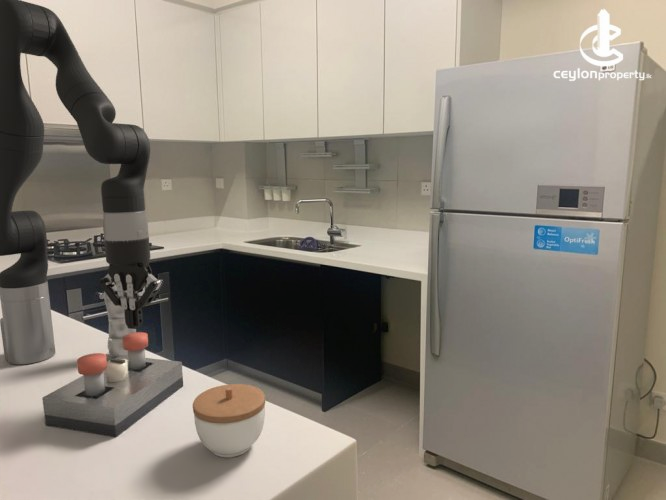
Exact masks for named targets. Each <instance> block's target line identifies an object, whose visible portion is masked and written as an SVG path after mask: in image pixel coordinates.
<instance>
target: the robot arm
mask: <svg viewBox="0 0 666 500" xmlns="http://www.w3.org/2000/svg"><path fill="white" fill-rule="evenodd" d="M22 54H23V55H30V56H35V57H44V58H46V59H48V60H49V61H50V62H51V63H52V64H53V66H55V67H56V70H57V71H56V76H55V89H56V93H57V94H56V95H57V96H58V98H59V100H60V102H61V103H62V105H63V106H64V107H65V109H66V110H67V111H68V113H69V114H70V115H71V116H72V118H73V120H74V121H75V122H76V124H77V127H78V130H79V133H80V135H81V139H82V142H83V145H84V149H85V150H86V152H87V154H88V155H89V156H90V157H91V158H92V159H93V160H95V161H97V162H98V163H101V164H104V165H120V168H119V171H118V174H117V175H116V176H114V177H110V178H107V179H105V180H104V181H103V182H102V183H101V187H100V188H101V189H100V192H101V203H102V205H101V206H102V212H103V213H102V215H103V216H102V217H103V218H102V229H103V230H102V231H103V242H104V252H105V253H104V254H105V262H106V263H107V264H108V265H109V266H108V268H107V274H106V275H105V276H104V277H102V278H99V279H98V281H97V282H98V285H99V286H100V288H101V289H102V290H103V292H104V291H105V293H106V294H107V295H108V297H109V298H110V300H111V301H112V302H113V304H114V305H115V306H118V305H119V306H121V307H122V308H123V309H124V313H125V323H126V325H127V327H128V328H129V329H136V330H137V329H138V328H141V327H142V325H143V324H144V317H143V307H145V306H148V305H150V304H151V303H152V302H153V300H154V299H155V297H156V296H157V295H158V292H160V290H161V288H162V286H163V285H164V280H163V279H162V278H156V277H155V275H153V270H152V268H151V266H150V260H151V248H150V245H151V244H150V237H149V236H150V234H149V223H148V219H147V214H146V203H145V193H144V192H145V191H144V187H145V183H146V178H147V173H148V167H149V162H150V159H151V158H150V157H151V143H150V138H149V137H148V135H147V133H146V132H145V130H144V129H143V128H142V127H140V125H139V126H138V125H135V124H128V123H116V122H114V121H115V119H116V115H117V113H116V112H117V110H116V107H115V106H114V104H113V102H112V101H111V100H110V98H109V97H108V96H107V94H106V93H105V92H104V90H102V88H101V87H100V86H99V84H98V83H97V82H96V81H95V80H94V77H93V76H92V75H91V74H90V72H89V70H88V69H87V68H86V66H85V64H84V61H83V60H82V58H81V56H80V55H79V54H80V53H79V52H78V50H77V48H76V46H75V45H74V42H73V41H72V38H71V37H70V35H69V33H68V31H67V29H66V27H65V26H64V24H63V22H62V21H61V19H60V18H59V16H58V15H57V14H56V13H55V12H54V11H53V10H51V9H50V8H47V7H45V6H42V5H39V4H36V3H31V2H28V1H24V0H0V257H2V256H3V257H5V256H12V255H13V256H14V255H20V257H19V259H18V260H17V261H15V263H13V264H12V265H10V266H9V267H7V268H5V269H3V270H2V271H0V306H1V313H2V314H1V315H2V318H0V332H1V340H2V348H3V355H4V360H5V361H8V363H10V364H13V365H28V364H35V363H38V362H42V361H45V360H48V359H50V358H52V357H53V356H55V354H56V345H55V337H54V334H55V333H54V327H53V319H52V310H51V309H52V308H51V302H50V301H51V300H50V291H49V283H48V270H49V260H48V259H49V258H48V242H47V241H48V239H47V231H46V230H47V229H46V225H45V224H46V223H45V221H44V219H43V218H42V216H41V215H40V214H39V213H38V212H37V211H34V210H17V211H16V210H15V211H12V210H13V205H14V201H15V198H16V196H17V194H18V192H19V190H20V188H21V187H22V186H23V185H24V184H25V182H26V181H27V180H28V179H29V177H30V176H31V175H32V174H33V172H34V171H35V170H36V168H37V167H38V165H39V163H40V161H41V160H42V157H43V153H44V143H45V142H44V139H45V125H44V124H45V123H44V122H43V117H42V116H41V114H40V112H39V110H38V108H37V106H36V105H35V103H34V100H32V98H31V96H30V95H29V93H28V90H27V88H26V86H25V84H24V81H23V76H22V69H21V55H22ZM115 294H116V295H117V296H116V295H115Z"/></svg>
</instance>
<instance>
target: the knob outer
mask: <svg viewBox="0 0 666 500" xmlns="http://www.w3.org/2000/svg"><path fill="white" fill-rule="evenodd" d="M76 360H77V362H76V365H77V372H78V374H80V375H82V376H84V386H85V394H86V395H87V396H95V395H99V394H101V393H103V392H104V391H105V385H104V375H103V371H104V370H106V369H107V361H108V360H107V354H105V353H101V352H100V353H99V352H95V353H88V354H86V355H82V356H80V357H79V358H77V359H76Z"/></svg>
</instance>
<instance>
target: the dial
mask: <svg viewBox="0 0 666 500" xmlns="http://www.w3.org/2000/svg"><path fill="white" fill-rule="evenodd" d="M115 358H116V357H113V358H110V359H109V360H107V369H106V378H107V381H108V382H119V381H123V380H125V379H127V378H128V364H127V359H122V358H120V359H115Z"/></svg>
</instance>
